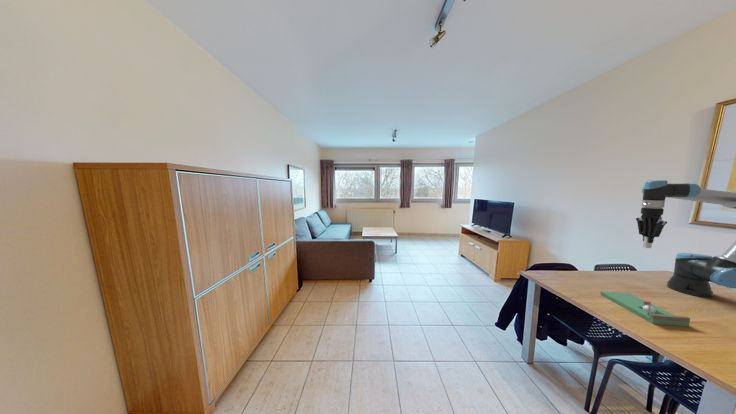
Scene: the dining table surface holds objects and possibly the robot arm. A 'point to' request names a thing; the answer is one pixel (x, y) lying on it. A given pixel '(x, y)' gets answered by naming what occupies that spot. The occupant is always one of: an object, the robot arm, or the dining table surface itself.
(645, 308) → the ball
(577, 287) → the dining table surface
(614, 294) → the green
